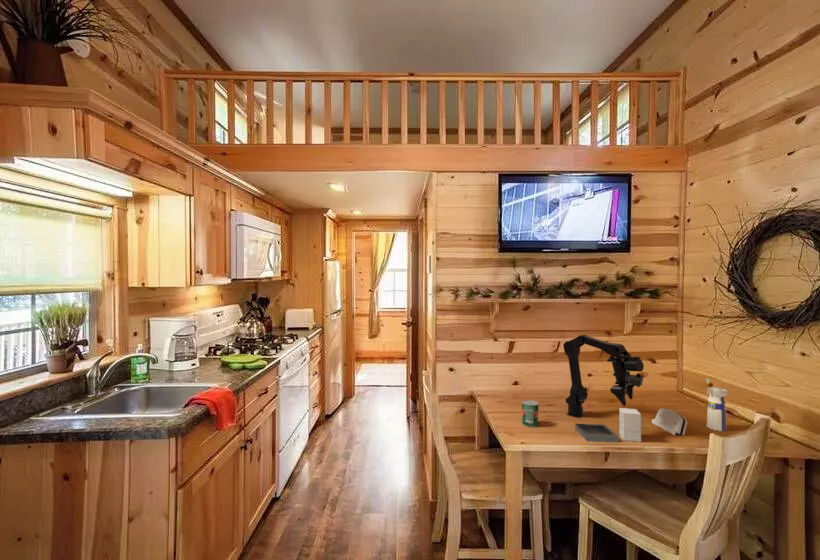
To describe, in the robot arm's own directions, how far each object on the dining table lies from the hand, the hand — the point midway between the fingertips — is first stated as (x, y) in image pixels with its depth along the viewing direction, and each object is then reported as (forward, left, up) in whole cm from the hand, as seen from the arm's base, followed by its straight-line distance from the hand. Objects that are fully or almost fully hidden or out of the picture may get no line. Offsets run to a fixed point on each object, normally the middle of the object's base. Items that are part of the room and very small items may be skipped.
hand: (628, 402), depth 185 cm
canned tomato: (-37, -27, -14) cm, 47 cm away
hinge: (+13, +18, -14) cm, 27 cm away
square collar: (-9, -17, -14) cm, 23 cm away
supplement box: (+3, -9, -14) cm, 17 cm away
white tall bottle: (+29, +35, -14) cm, 48 cm away
